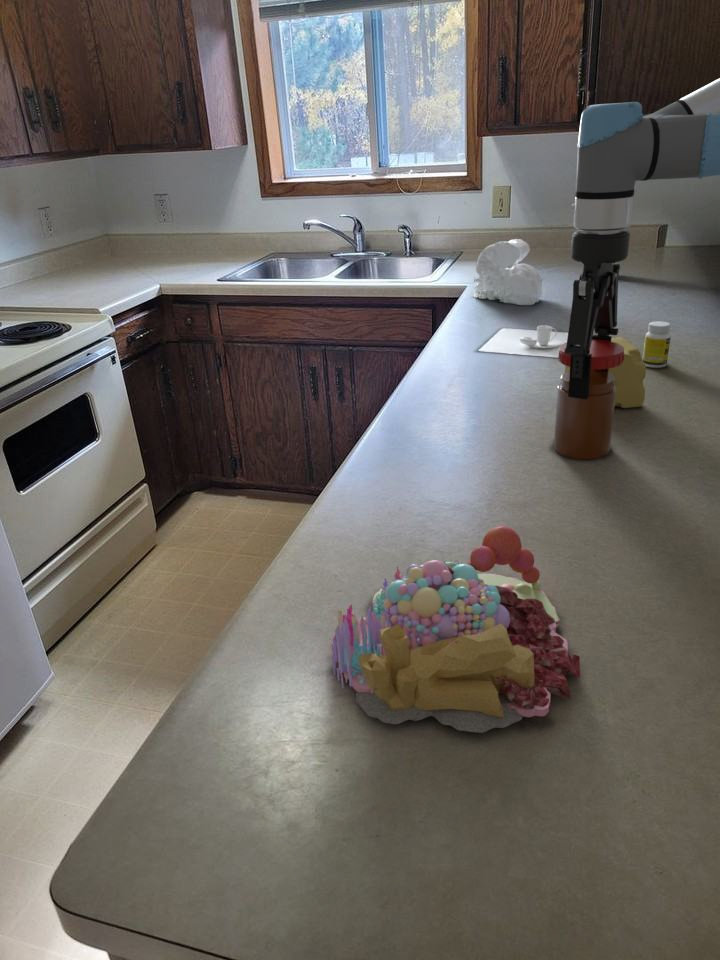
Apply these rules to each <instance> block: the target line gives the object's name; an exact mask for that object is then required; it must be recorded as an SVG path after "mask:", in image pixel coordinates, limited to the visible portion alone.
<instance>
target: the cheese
mask: <svg viewBox="0 0 720 960" xmlns="http://www.w3.org/2000/svg"><path fill="white" fill-rule="evenodd" d="M611 342H615V343H618V344H620V345H622V346H623V347H624V361H623V363H622V364H621V365H619V366H617V367H614V368H609V370H608V373H610V374H612V375H613V376H614V377H615V386H616V398H615V407H620V408H622V409H628V408H629V409H630V408H640V407H642V406H643V404H644V402H645V398H646V389H645V386H644V380H645V378H646V376H647V375H646V374H647V367H646V366H645V363H644V362H643V361H642V359H643V357H642V355H641V351H640V349H639V348H638V347H637V346H635V345H634V344H633V343H632V342H630V341H629V340H627V339H625V338H623V337H621V336H618V337H617V336H616V337H612V338H611ZM567 371H570V367H568V366H566V365H564V373H565V372H567Z"/></svg>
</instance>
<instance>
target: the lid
mask: <svg viewBox="0 0 720 960" xmlns="http://www.w3.org/2000/svg"><path fill="white" fill-rule="evenodd" d="M566 346H567V343H564V344H562V345H561V346H560V350H559V358H558V362H559V363H560V364H562V365H563V366H565V365H566V366H568V367H570V362H571V354H565V349H566ZM577 346H580V345H577ZM589 354H592V357H591V370H601V369H609V368H614V367H617V366H619V365H621V364H622V363H623V361H624V347H623V346H622V345H620V344H618V343H615V342H611V341H605V340H593V339H592V342H591V347H590V353H589Z"/></svg>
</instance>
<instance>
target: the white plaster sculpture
mask: <svg viewBox="0 0 720 960" xmlns="http://www.w3.org/2000/svg"><path fill="white" fill-rule="evenodd" d="M530 251H531V250H530V244H529V243H528V242H526V241H524V240H523V239H521V238H514V239H510V240H509V241H502V240H500V241H496V242H494V243H493V244H490V245H488V246H486V247H485V248H484V249H482V251H481V252H480V253H479V255H478V256H477V262H476V273H477V275H478V278H476V277H473V283H477V284H475V285H474V288H473V298H476V299H477V298H479V299H481V300H483V299H484V300H485V299H488V300H490V301H496V300H497V299H499V302H501V303H504V304H514V305H517V306H533V305H535V303H539V301H540V299H541V297H542V294H543V281H544V278H542V277H541V274H540V272H539V271H538V270H537V268H535V267H534V266H532V265H530V264H528V263H525V262H524V263H523V262H522V261H523V260H524V259H525V257H526V256H528V254H529V253H530ZM519 262H522V263H519Z"/></svg>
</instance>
